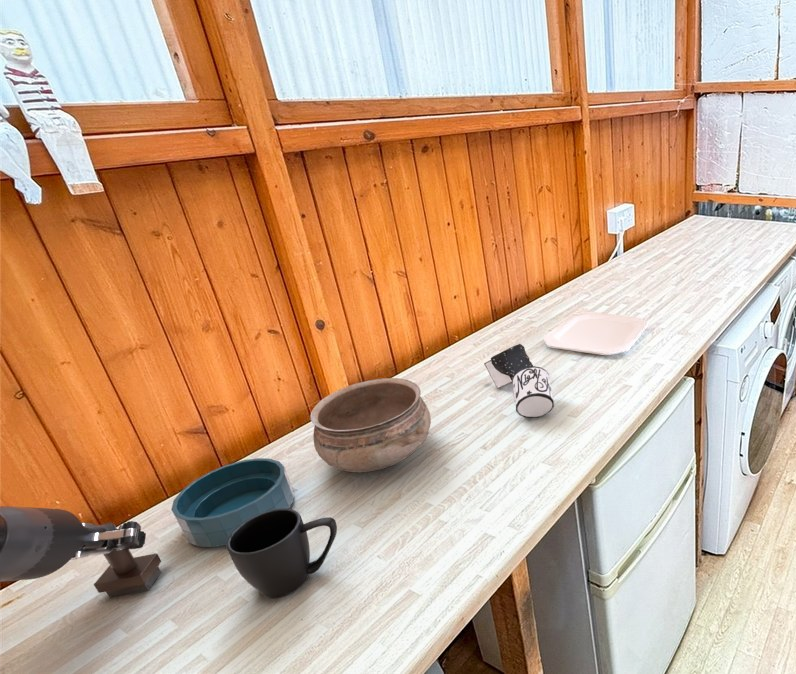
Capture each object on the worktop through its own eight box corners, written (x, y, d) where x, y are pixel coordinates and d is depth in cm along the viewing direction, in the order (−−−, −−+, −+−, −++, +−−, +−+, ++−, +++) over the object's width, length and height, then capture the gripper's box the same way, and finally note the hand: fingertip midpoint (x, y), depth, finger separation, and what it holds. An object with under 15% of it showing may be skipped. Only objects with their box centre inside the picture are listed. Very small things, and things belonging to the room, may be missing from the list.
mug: (343, 590, 71) (324, 538, 67) (240, 615, 67) (214, 562, 63) (354, 545, 78) (338, 496, 74) (262, 565, 75) (239, 515, 71)
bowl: (167, 559, 76) (150, 529, 73) (213, 494, 88) (200, 466, 86) (277, 539, 79) (264, 509, 77) (306, 479, 92) (296, 452, 89)
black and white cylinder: (568, 415, 109) (564, 374, 105) (523, 431, 104) (517, 388, 100) (523, 368, 128) (518, 332, 124) (483, 380, 123) (477, 342, 119)
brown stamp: (104, 601, 70) (66, 544, 65) (122, 577, 73) (88, 521, 69) (150, 592, 71) (116, 535, 66) (166, 569, 74) (135, 513, 70)
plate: (623, 362, 131) (623, 355, 130) (536, 350, 138) (535, 342, 137) (652, 325, 152) (652, 318, 151) (576, 316, 159) (575, 309, 158)
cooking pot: (470, 444, 100) (460, 390, 95) (392, 509, 85) (375, 448, 79) (375, 417, 109) (361, 366, 104) (288, 472, 93) (267, 415, 88)
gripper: (91, 495, 58) (189, 504, 74) (-69, 520, 55) (70, 524, 71) (80, 566, 56) (184, 560, 72) (-87, 597, 53) (60, 583, 69)
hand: (127, 542), depth 71 cm, fingers closed
